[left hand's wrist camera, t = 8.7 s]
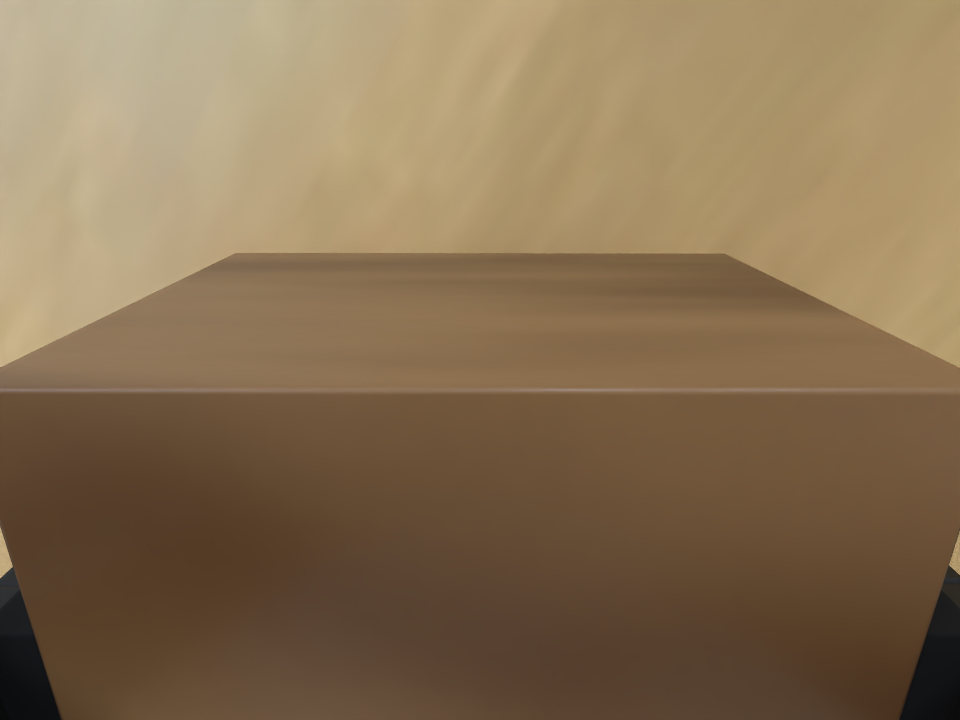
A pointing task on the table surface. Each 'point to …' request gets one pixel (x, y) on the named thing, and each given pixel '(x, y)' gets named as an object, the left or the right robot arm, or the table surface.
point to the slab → (480, 494)
